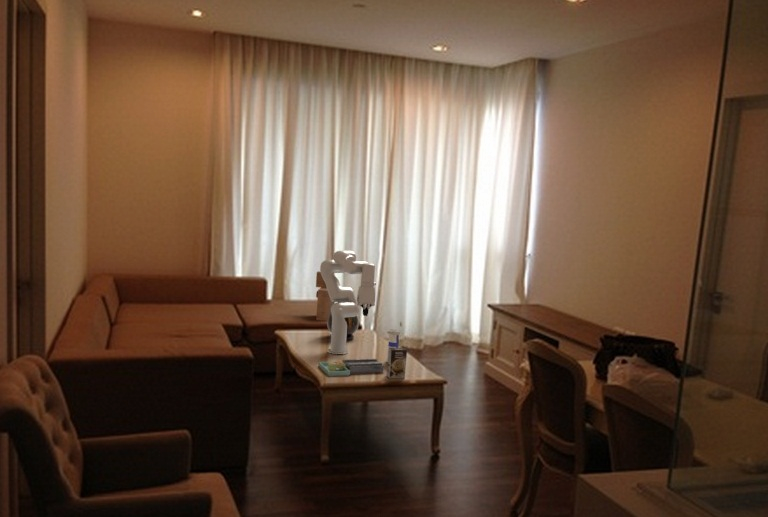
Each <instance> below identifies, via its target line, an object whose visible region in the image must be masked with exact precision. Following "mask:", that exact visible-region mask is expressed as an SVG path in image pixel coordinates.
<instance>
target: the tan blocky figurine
mask: <svg viewBox="0 0 768 517" xmlns="http://www.w3.org/2000/svg"><path fill="white" fill-rule="evenodd" d="M315 288H318V290H316V293H315V294H316V300H317V302H316V318H315V320H316V321H322V322H323V321H324V322H325V321H326V322H327V320H328V316H329V314H330V312H331V307H332V305H333V304H335V302H332V301H331V299H330V297H329V294H328V290H327V287H326V284H325V281H324V280H323V278H322V275H321V272H320V270H319V271H317V272H316V279H315Z"/></svg>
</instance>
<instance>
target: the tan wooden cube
mask: <svg viewBox="0 0 768 517" xmlns="http://www.w3.org/2000/svg"><path fill="white" fill-rule="evenodd" d="M327 362H328V366H327V369H328V370H329V371H336V367H337V364H336V363H335V362H336V361H327Z"/></svg>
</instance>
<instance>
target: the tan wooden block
mask: <svg viewBox="0 0 768 517" xmlns="http://www.w3.org/2000/svg"><path fill="white" fill-rule="evenodd" d="M336 362H337V363H336V364H337V367H336V368H338V369H340V370H341V371H343V369H344V368H345V366H346V364H344V363H343V362H342V360H340V359H338V360H336Z"/></svg>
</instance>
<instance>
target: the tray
mask: <svg viewBox="0 0 768 517" xmlns="http://www.w3.org/2000/svg"><path fill="white" fill-rule="evenodd" d="M328 362H329V361H318V367H319V368H320V369H321V370H322V372H324V373H325V375H326V376H328V377H347V376H348V377H349V376H351V374H350V371H349V370H348V369H347V368H346V367H345V368H344V369H343V371H341V370H340V369H338V368H336V371H329V370H328V369H327V366H328ZM334 362H335V363H337V361H334Z"/></svg>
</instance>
